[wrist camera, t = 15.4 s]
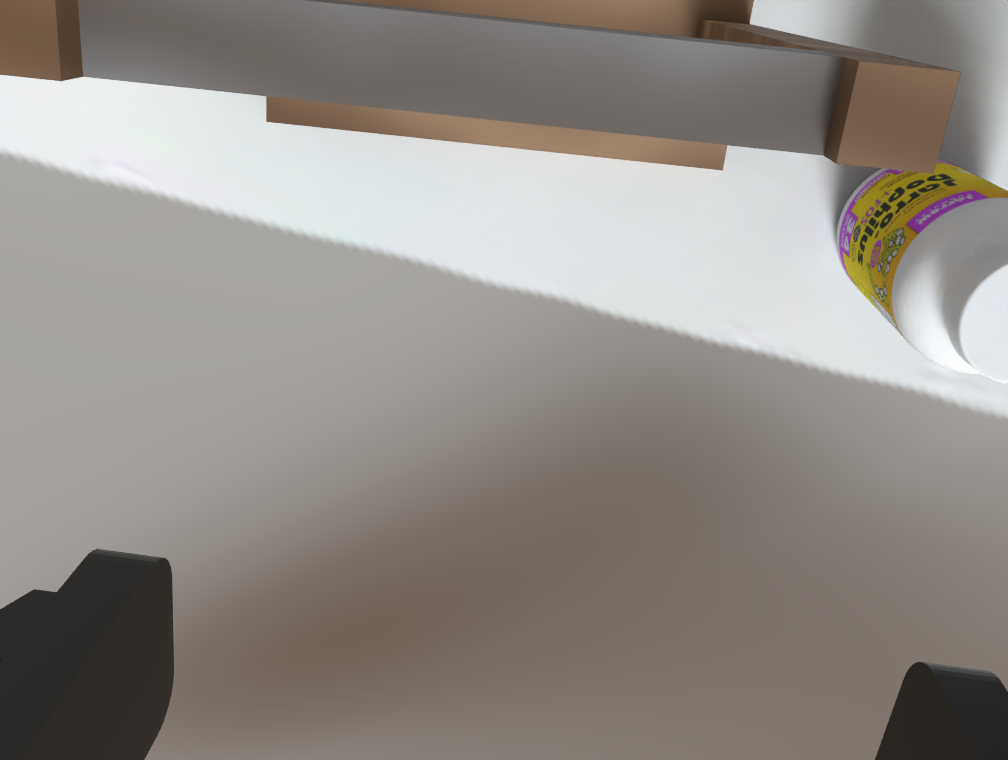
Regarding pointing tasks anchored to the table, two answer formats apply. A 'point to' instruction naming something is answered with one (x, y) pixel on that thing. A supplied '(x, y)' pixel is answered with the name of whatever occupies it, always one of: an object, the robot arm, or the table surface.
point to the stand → (511, 73)
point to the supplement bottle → (934, 262)
